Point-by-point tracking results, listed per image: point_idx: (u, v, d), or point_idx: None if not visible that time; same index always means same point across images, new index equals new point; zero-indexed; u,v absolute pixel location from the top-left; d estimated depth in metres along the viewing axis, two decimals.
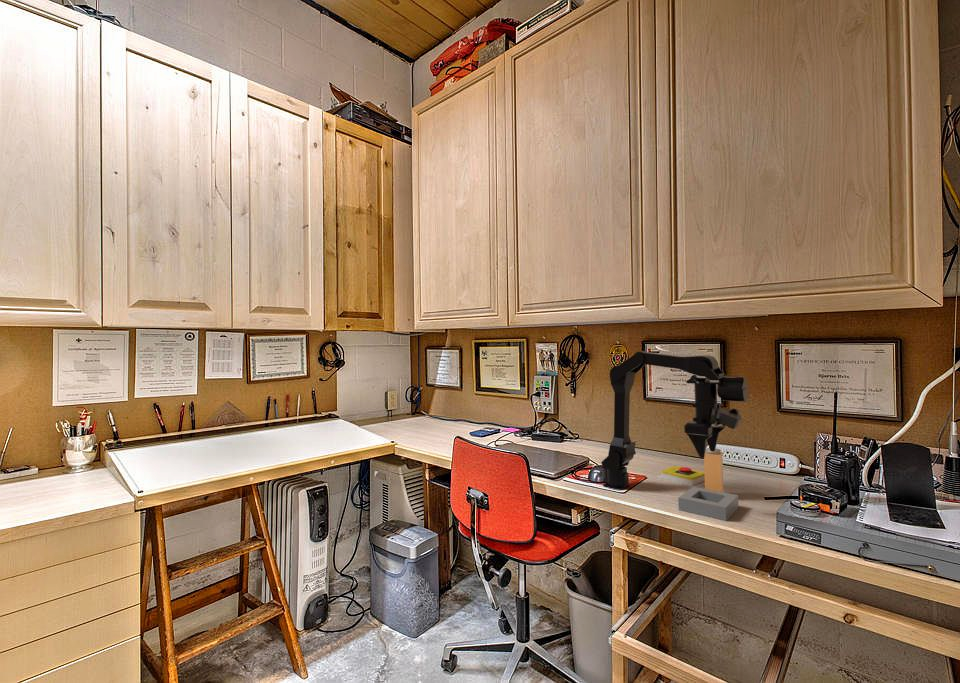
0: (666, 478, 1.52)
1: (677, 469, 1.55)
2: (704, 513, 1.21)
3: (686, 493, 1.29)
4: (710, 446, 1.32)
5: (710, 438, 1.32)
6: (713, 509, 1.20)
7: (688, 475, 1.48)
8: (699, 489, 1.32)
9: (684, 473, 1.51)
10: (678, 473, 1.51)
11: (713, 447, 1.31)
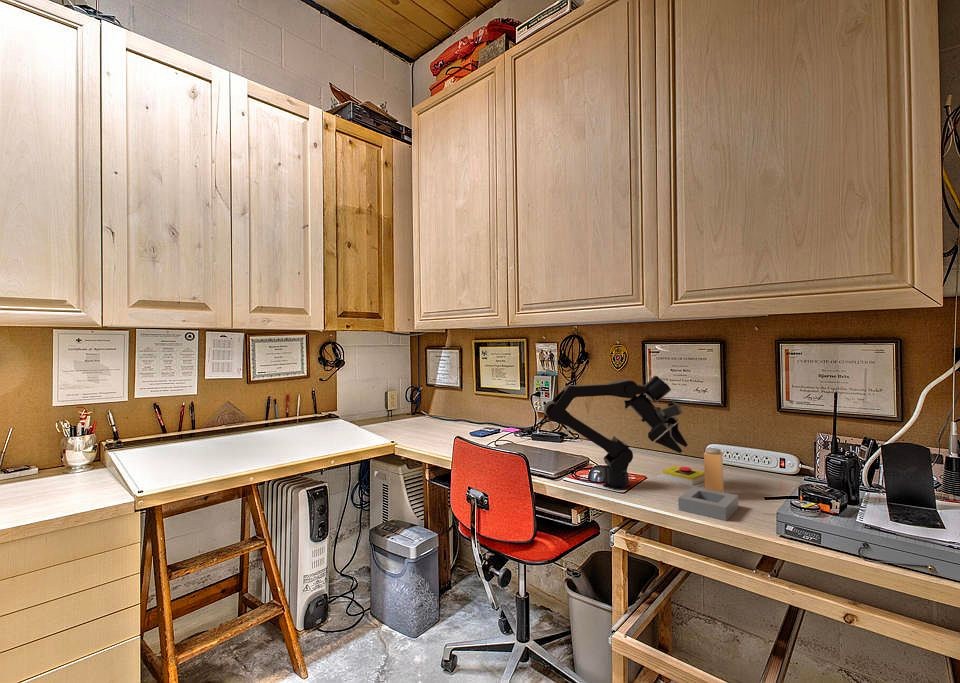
0: (666, 478, 1.53)
1: (677, 469, 1.55)
2: (704, 513, 1.21)
3: (686, 493, 1.29)
4: (682, 443, 1.45)
5: (676, 438, 1.46)
6: (713, 509, 1.20)
7: (688, 475, 1.48)
8: (699, 489, 1.32)
9: (684, 473, 1.51)
10: (678, 473, 1.51)
11: (684, 442, 1.44)
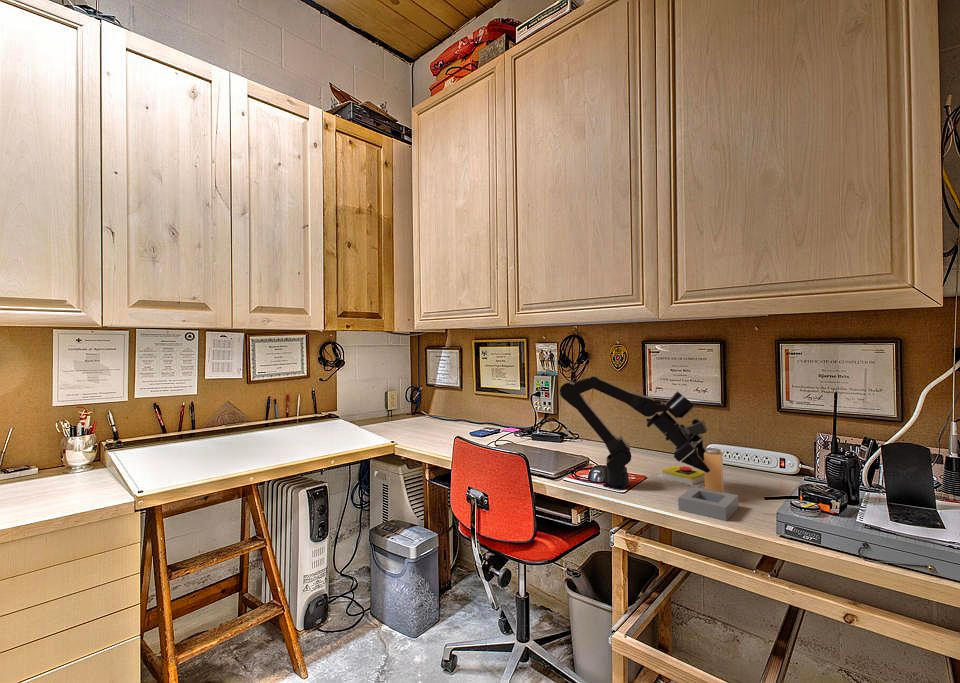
0: (666, 477, 1.53)
1: (677, 469, 1.55)
2: (704, 513, 1.21)
3: (686, 493, 1.29)
4: None
5: (702, 455, 1.42)
6: (713, 509, 1.20)
7: (688, 474, 1.49)
8: (699, 489, 1.32)
9: (684, 472, 1.51)
10: (678, 472, 1.51)
11: None
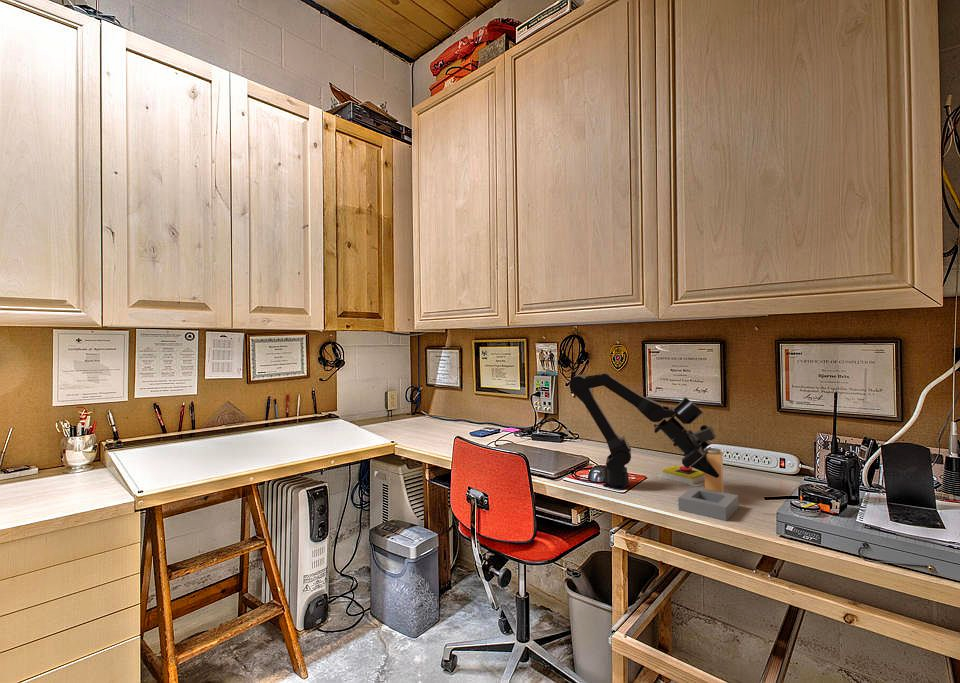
0: (667, 477, 1.53)
1: (678, 468, 1.56)
2: (704, 513, 1.21)
3: (686, 493, 1.29)
4: None
5: None
6: (713, 509, 1.20)
7: (689, 474, 1.49)
8: (699, 489, 1.32)
9: (684, 472, 1.52)
10: (679, 472, 1.52)
11: None
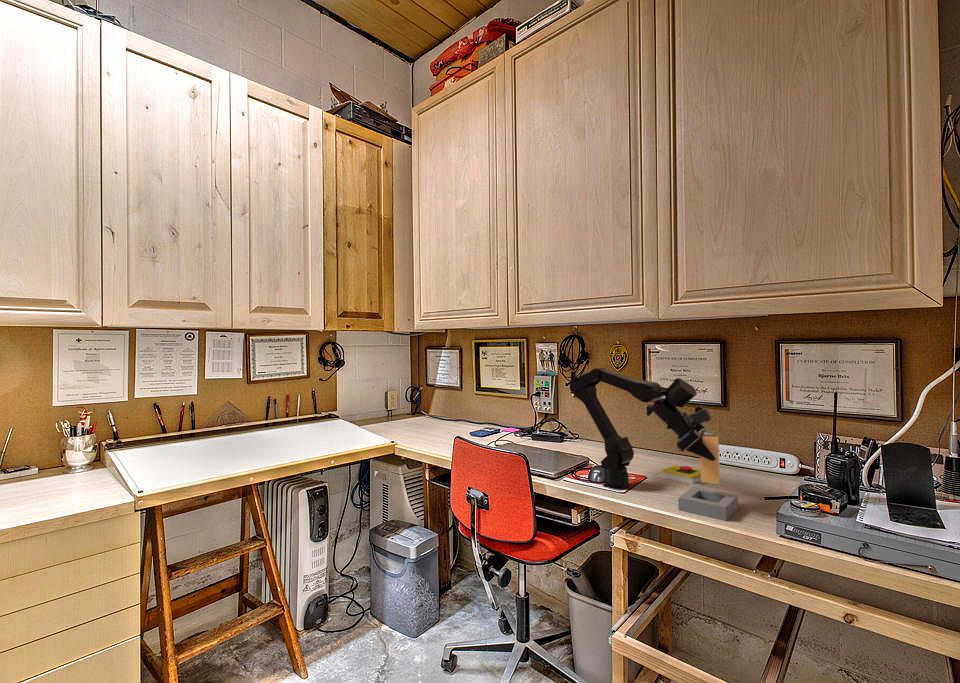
0: (667, 477, 1.54)
1: (678, 468, 1.56)
2: (704, 513, 1.21)
3: (686, 493, 1.29)
4: None
5: None
6: (713, 509, 1.20)
7: (689, 474, 1.49)
8: (699, 489, 1.32)
9: (684, 472, 1.52)
10: (679, 472, 1.52)
11: None
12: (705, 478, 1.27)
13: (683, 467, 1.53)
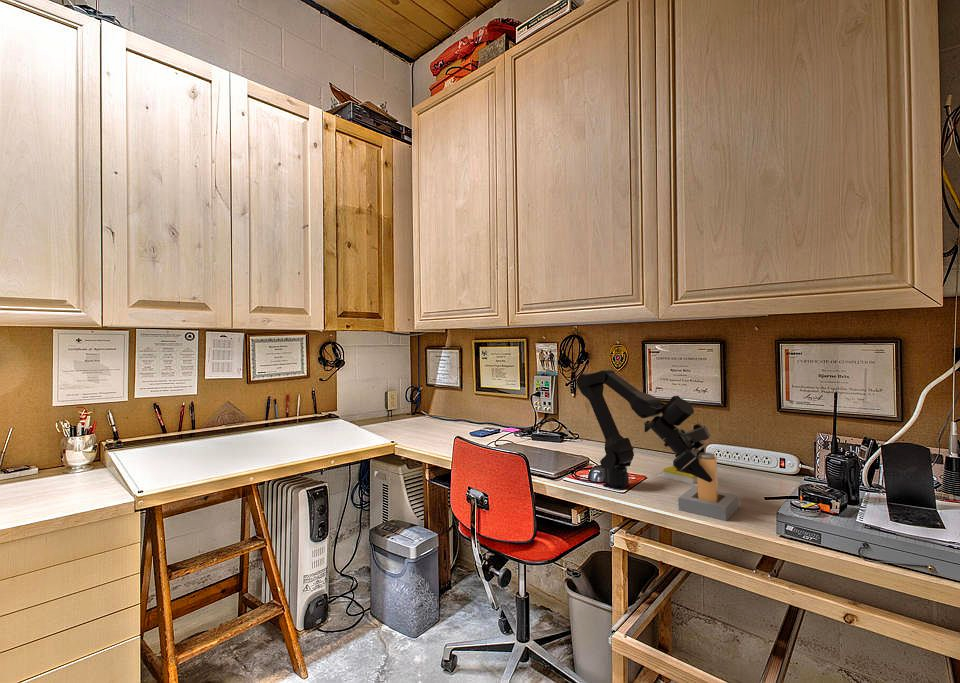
0: (667, 476, 1.54)
1: None
2: (704, 513, 1.21)
3: (686, 493, 1.29)
4: None
5: None
6: (713, 509, 1.20)
7: None
8: None
9: None
10: (679, 471, 1.52)
11: None
12: None
13: None
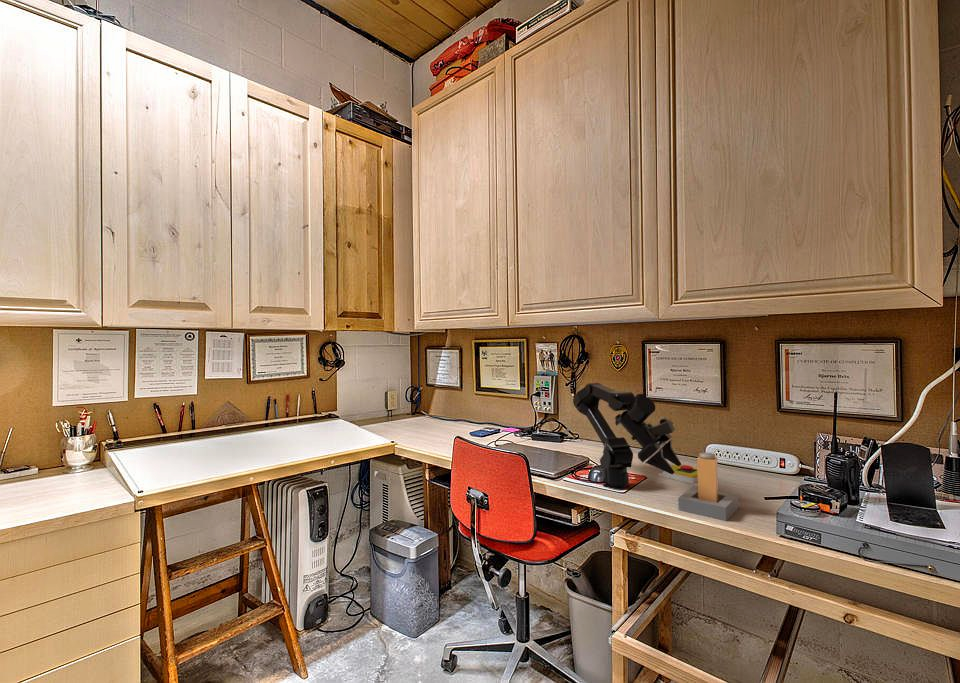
0: (668, 476, 1.55)
1: (678, 467, 1.57)
2: (704, 513, 1.21)
3: (686, 493, 1.29)
4: (675, 462, 1.36)
5: (669, 456, 1.37)
6: (713, 509, 1.20)
7: (689, 473, 1.50)
8: None
9: (685, 471, 1.53)
10: (679, 471, 1.53)
11: (677, 461, 1.36)
12: None
13: (684, 466, 1.54)
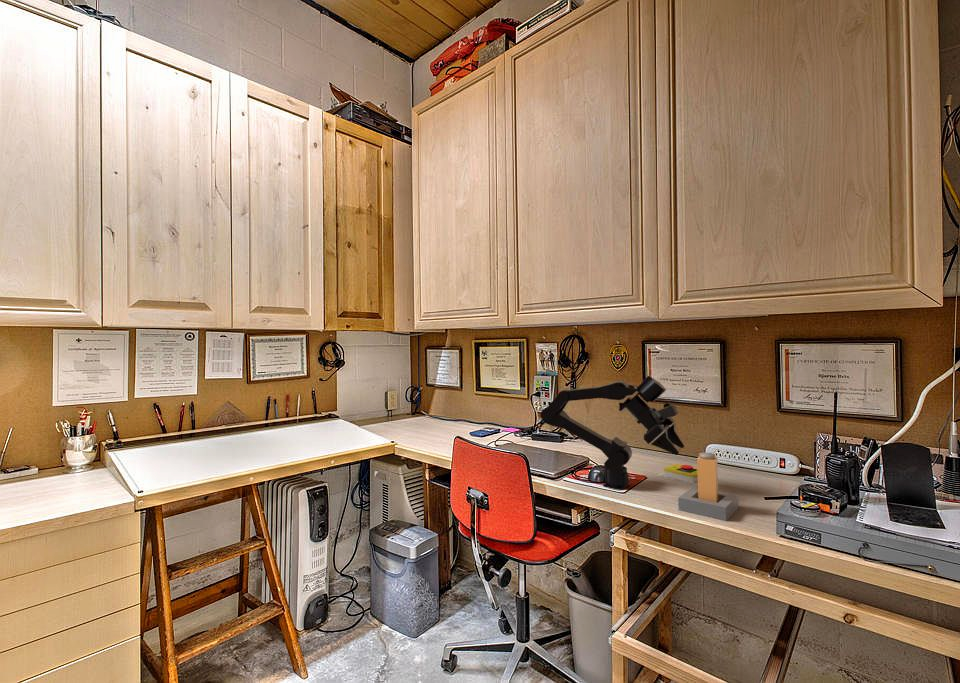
0: (668, 476, 1.55)
1: (679, 467, 1.57)
2: (704, 513, 1.21)
3: (686, 493, 1.29)
4: (678, 445, 1.42)
5: (673, 439, 1.43)
6: (713, 509, 1.20)
7: (690, 473, 1.51)
8: None
9: (685, 470, 1.53)
10: (680, 471, 1.53)
11: (681, 444, 1.42)
12: None
13: (684, 466, 1.54)
